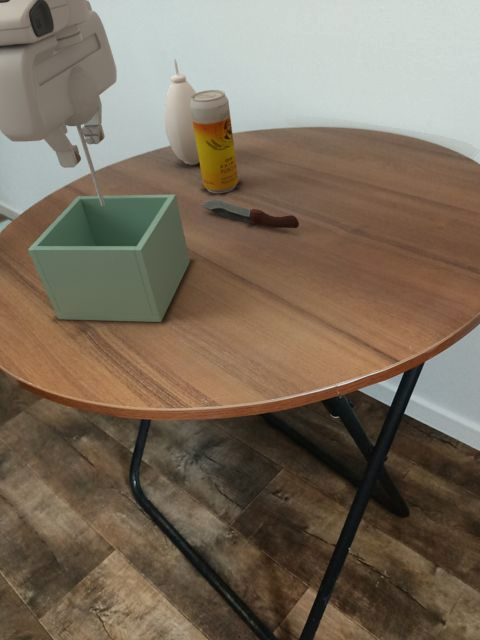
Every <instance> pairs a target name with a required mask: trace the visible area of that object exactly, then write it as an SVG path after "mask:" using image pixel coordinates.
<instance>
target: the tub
mask: <svg viewBox="0 0 480 640" xmlns="http://www.w3.org/2000/svg"><path fill="white" fill-rule="evenodd" d="M102 196H103V199H104V202H105V205H104V206H101V203H100V200H99V197H98V195H77V196H76V197H75V199H73V200H72V202H70V204H69V205H68V206H67V207H66V208H65V209H64V210H63V211H62V212H61V213H60V214H59V215H58V216H57V218H56V219H55V220H54V221H53V222H52V223H51V224H50V225H49V226H48V228H46V229H45V230H44V232H42V234H41V235H40V236H39V237H38V238H37V239H36V240H35V241H34V242H33V243H32V244H31V245H30V246H29V248H28V249H27V251H28V255H29V257H30V258H31V260H32V263H33V265H34V267H35V270H36V272H37V274H38V277H39V279H40V281H41V283H42V286H43V287H44V290H45V293H46V295H47V297H48V299H49V301H50V303H51V306H52V308H53V310H54V312H55V315H56V317H57V319H58V320H69V321H70V320H73V321H76V320H77V321H103V322H105V321H106V322H107V321H108V322H109V321H111V322H139V323H142V322H145V323H161V322H162V321H163V320H164V317H165V314H166V313H167V310H168V308H169V306H170V304H171V302H172V300H173V298H174V296H175V294H176V292H177V289H178V288H179V285H180V283H181V281H182V279H183V277H184V275H185V273H186V271H187V269H188V267H189V265H190V262H191V261H190V256H189V255H190V254H189V250H188V247H187V241H186V237H185V231H184V227H183V223H182V218H181V214H180V213H181V212H180V209H179V203H178V198H177V194H126V195H125V194H123V195H122V194H121V195H119V194H118V195H102Z"/></svg>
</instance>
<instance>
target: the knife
mask: <svg viewBox="0 0 480 640" xmlns="http://www.w3.org/2000/svg"><path fill="white" fill-rule="evenodd" d="M200 206H201V207H203V208H204V209H206V210H208V211H209V212H212V213H214V214H216V215H219V216H222V217H224V218H228V219H231V220H234V221H239V222H243V223H248V224H252V225H256V226H263V227H268V228H276V229H277V228H278V229H279V228H280V229H287V228H288V229H298V227H299V226H300V221H299V219H298V218H297V217H296V216H295V215H283V216H273V215H270V214H268V213H266V212H264V211H263V210H260V209H259V208H257V209H256V208H252V209H251V208H249V207H245V206H241V205H237V204H235V203H232V202H229V201H226V200H223V199H221V198H211V199H208V200H207V201H204V202H203V203H201V205H200Z"/></svg>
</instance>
